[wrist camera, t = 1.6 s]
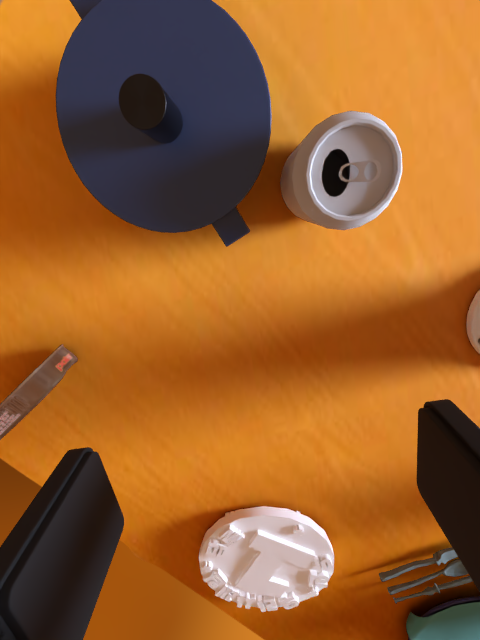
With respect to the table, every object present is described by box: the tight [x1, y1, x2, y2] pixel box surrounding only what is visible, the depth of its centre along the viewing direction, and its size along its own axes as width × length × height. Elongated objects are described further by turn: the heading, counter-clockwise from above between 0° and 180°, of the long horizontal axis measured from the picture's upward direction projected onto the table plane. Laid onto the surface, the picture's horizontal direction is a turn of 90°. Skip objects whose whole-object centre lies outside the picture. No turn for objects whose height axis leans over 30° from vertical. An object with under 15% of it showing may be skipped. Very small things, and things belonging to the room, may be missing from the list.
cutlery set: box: [379, 547, 480, 640], centre depth 52 cm, size 20×30×2 cm, turn 29°
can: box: [280, 111, 402, 230], centre depth 26 cm, size 8×8×12 cm
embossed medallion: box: [199, 506, 334, 612], centre depth 49 cm, size 20×20×3 cm
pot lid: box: [56, 0, 272, 233], centre depth 22 cm, size 16×16×6 cm
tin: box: [0, 344, 78, 440], centre depth 37 cm, size 15×3×8 cm, turn 132°
